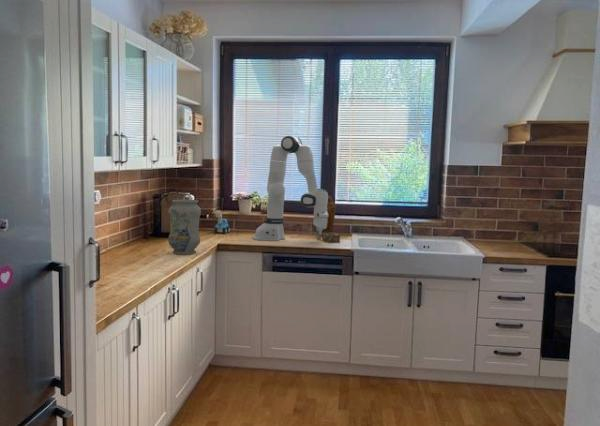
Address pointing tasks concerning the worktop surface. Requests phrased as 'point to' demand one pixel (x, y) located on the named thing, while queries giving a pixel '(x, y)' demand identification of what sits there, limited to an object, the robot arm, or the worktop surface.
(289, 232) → the worktop surface
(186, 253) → the vase
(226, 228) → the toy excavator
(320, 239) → the beech peg
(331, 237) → the walnut seat board
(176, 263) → the worktop surface
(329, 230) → the sculpture
